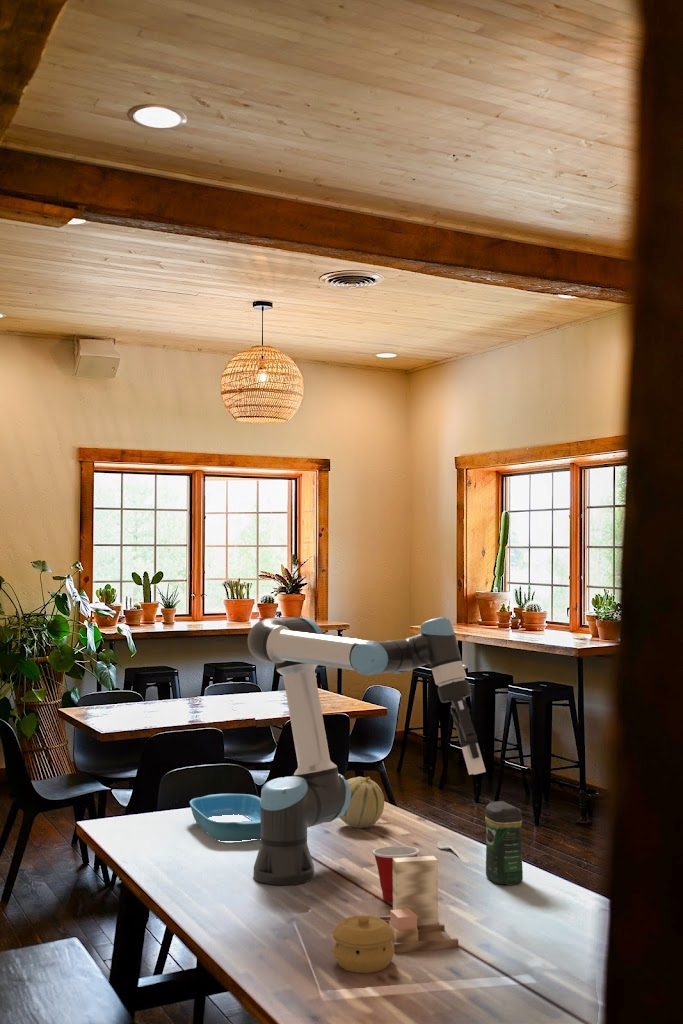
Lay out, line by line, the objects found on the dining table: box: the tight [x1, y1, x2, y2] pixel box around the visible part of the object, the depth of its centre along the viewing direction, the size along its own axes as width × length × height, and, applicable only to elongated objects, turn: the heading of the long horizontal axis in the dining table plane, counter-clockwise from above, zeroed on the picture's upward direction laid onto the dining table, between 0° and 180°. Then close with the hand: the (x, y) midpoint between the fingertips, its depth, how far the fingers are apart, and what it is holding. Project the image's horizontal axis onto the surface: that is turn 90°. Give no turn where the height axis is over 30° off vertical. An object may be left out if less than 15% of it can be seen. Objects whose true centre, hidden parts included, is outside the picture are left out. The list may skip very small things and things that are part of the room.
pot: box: [332, 914, 395, 974], centre depth 185 cm, size 12×12×10 cm
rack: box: [376, 915, 459, 954], centre depth 199 cm, size 13×16×3 cm
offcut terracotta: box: [389, 908, 417, 931], centre depth 196 cm, size 4×4×2 cm
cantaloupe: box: [339, 776, 385, 829], centre depth 290 cm, size 15×15×15 cm
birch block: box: [392, 855, 439, 926], centre depth 204 cm, size 9×3×14 cm, turn 100°
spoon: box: [436, 840, 470, 863], centre depth 261 cm, size 4×21×2 cm, turn 19°
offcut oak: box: [389, 921, 418, 943], centre depth 196 cm, size 4×6×3 cm
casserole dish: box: [189, 793, 261, 841], centre depth 287 cm, size 37×22×7 cm, turn 24°
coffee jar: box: [484, 800, 524, 886], centre depth 240 cm, size 10×8×19 cm
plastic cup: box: [372, 845, 420, 903], centre depth 223 cm, size 11×11×12 cm
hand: (477, 773), depth 223 cm, fingers open, 13 cm apart
